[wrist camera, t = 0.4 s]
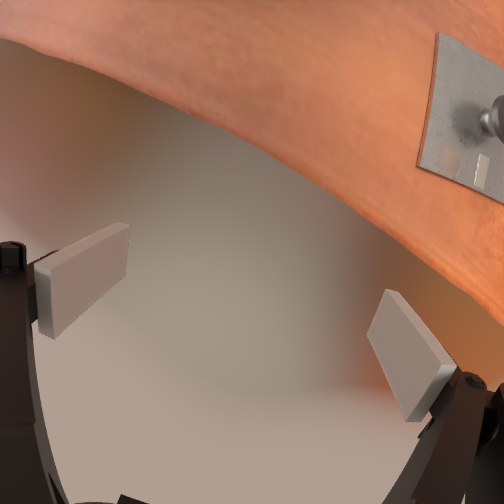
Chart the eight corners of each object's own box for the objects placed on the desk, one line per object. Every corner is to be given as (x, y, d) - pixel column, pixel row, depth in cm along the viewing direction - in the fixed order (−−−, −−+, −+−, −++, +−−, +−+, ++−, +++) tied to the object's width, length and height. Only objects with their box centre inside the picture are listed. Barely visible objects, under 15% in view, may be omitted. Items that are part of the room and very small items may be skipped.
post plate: (436, 33, 32) (454, 21, 26) (532, 94, 32) (553, 91, 26) (416, 165, 38) (436, 167, 33) (515, 210, 39) (537, 217, 33)
